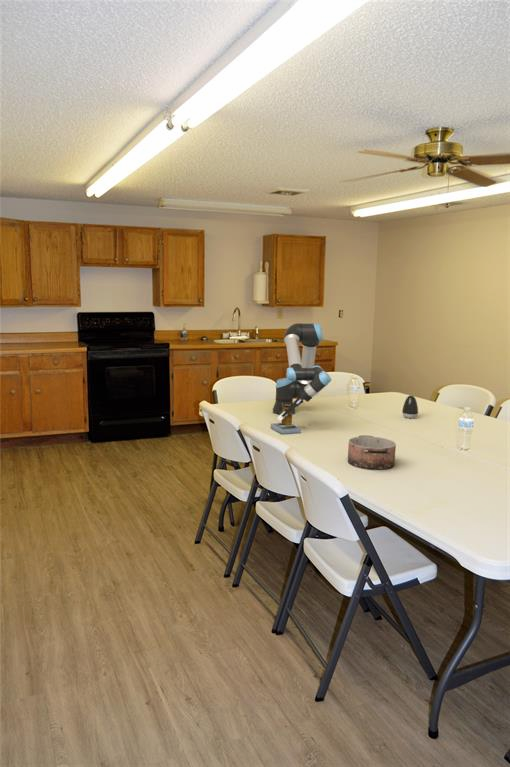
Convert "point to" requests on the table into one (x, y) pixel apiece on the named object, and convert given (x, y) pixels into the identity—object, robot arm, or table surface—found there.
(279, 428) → the tray
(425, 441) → the table surface
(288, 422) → the condiment
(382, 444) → the cooking pot
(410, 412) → the black bullet-shaped dome
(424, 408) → the table surface
